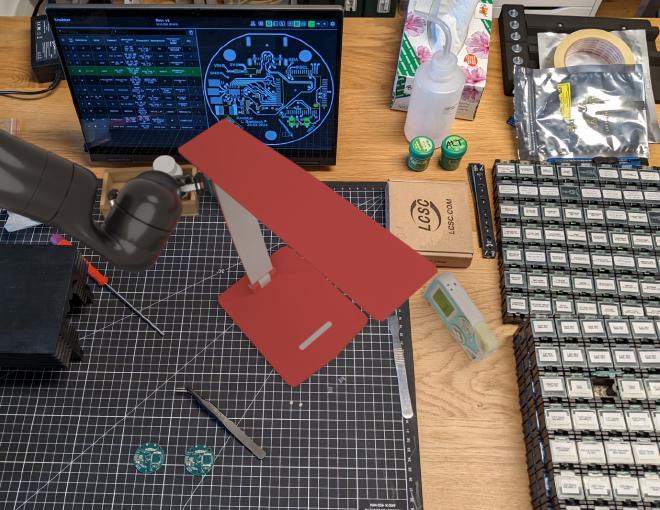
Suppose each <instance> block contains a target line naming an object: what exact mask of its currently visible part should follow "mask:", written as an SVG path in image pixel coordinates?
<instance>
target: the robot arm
mask: <svg viewBox="0 0 660 510" xmlns="http://www.w3.org/2000/svg"><path fill="white" fill-rule="evenodd" d="M206 188H207V187H206V182H205V178H204V174H203V173H201V171H199V172H198V173H197V174H195V176H194V177H193V175H192V174H189V173H185V174H184V175H174V176H171V175H169V174H167V173H165V172H163V171H158V170H149V171H145V172H143V173H141V174H139V175H138V176H136V177H135V178H131V179H129V180H128V181H127V182H126V183H125V185H124V186H123V187H122V189H121V191H120V192H119V191H118V189H112V190H110V191H109V193H108V194H107V198H108V202H109V205H110V211H109V213H108V215H107V217H106V218H105V217H104V220H103V222H102V223H100V222H98V221H96V220H95V219H94V210H95V206H96V202H97V198H98V193H99V179H98V177H97V175H96V174H95V172H93V171H92V170H91V169H90V168H87V167H85V166H84V165H81V164H79V163H77V162H75V161H73V160H70V159H67V158H65V157H63V156H61V155H58V154H56V153H54V152H52V151H50V150H47V149H45V148H43V147H40V146H38V145H36V144H33V143H31V142H29V141H26V140H25V139H23V138H20V137H18V136H16V135H14V134H11V132H8V131H6V130H4V129H2V128H0V209H2V210H5V211H7V212H10V213H12V214H15V215H18V216H21V217H23V218H26V219H29V220H31V221H35V222H38V223H40V224H43V225H46V226H48V227H51V228H53V229H56V230H58V231H59V232H61V233H63V234H65V235H67V236H69V237H71V238H73V239H74V240H75V241H77V242H78V243H80V244H82V245H83V246H85V247H87V248H88V249H90V250H91V251H92V252H94V253H95V254H97V256H99V257H100V258H102V259H103V260H105V261H106V262H107V263H109V264H110V265H111V266H113V267H114V268H117V269H118V270H120V271H122V272H126V273H132V274H135V273H143V272H146V271H149V270H150V269H151V268H153V267H154V266H155V264H156V263H157V261H158V259H159V258H160V256H161V254H162V252H163V251H164V248H165V247H166V245H167V243H168V241H169V239H170V237H171V235H172V234H173V232H174V230H175V229H176V227H177V225H178V223H179V221H180V219H181V217H182V216H181V215H182V212H183V204H182V198H184V197H186V196H187V195H188V192H190V191H194V194H199V195H200V196H201V195H203V194H205V193H206V191H207V189H206Z"/></svg>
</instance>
